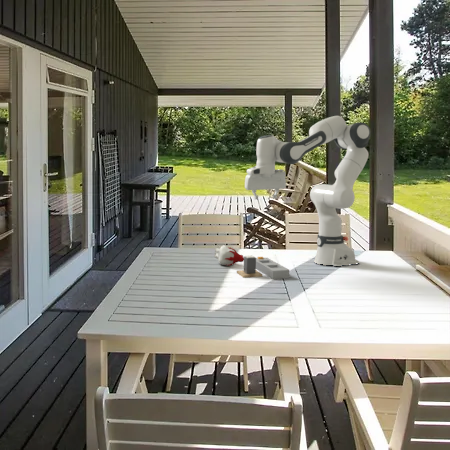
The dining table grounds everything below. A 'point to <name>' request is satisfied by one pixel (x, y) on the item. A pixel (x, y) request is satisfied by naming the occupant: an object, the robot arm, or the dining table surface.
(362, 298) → the dining table surface
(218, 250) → the white red lumpy piece
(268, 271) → the power strip
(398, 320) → the dining table surface
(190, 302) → the dining table surface
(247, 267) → the block
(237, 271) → the cork coaster
